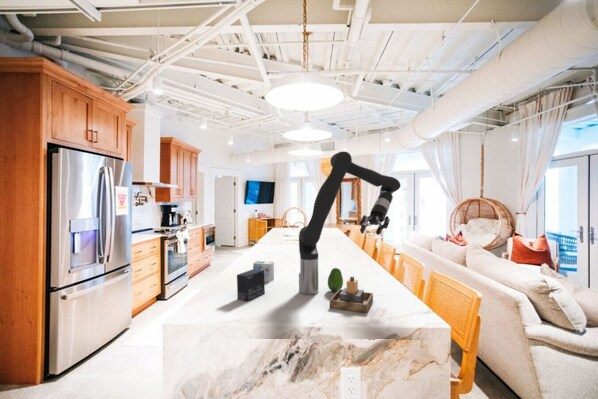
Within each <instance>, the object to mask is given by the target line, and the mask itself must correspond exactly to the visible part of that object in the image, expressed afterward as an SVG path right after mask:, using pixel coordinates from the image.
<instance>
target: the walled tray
mask: <svg viewBox="0 0 598 399" xmlns="http://www.w3.org/2000/svg"><path fill="white" fill-rule="evenodd" d="M373 302H374V293H373V292H365V289H358V293H357V294H350V293H347V287H344V288H343V289H342V288H341V289H339V290H338V291H336V292H335V293H334V295H333V296H332V297H331V298H330V299H329V308H330V309H334V308H335V309H336V310H340V309H341V310H342V311H347V310H348V312H355V313H361V314H368V311H369V309H370V307H371V305H372V304H373ZM335 309H334V310H335ZM341 310H340V311H341Z"/></svg>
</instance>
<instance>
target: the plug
mask: <svg viewBox="0 0 598 399" xmlns="http://www.w3.org/2000/svg"><path fill="white" fill-rule="evenodd" d="M358 285H359V283H358V279H355V276H349V278H348V280H346V288H347V293H350V294H357V293H358V288H359V286H358Z"/></svg>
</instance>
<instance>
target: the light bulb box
mask: <svg viewBox="0 0 598 399" xmlns="http://www.w3.org/2000/svg"><path fill="white" fill-rule="evenodd" d="M252 265H253V266H252V267H253V268H252V269H258V270H264V283H268V284H269V283H271V282H273V281H274V280H275V261H271V260H269V261H267V260H257V261H254V262H253V263H252Z"/></svg>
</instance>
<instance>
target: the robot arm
mask: <svg viewBox="0 0 598 399" xmlns="http://www.w3.org/2000/svg"><path fill="white" fill-rule="evenodd" d="M329 164H330V166H331V170H330V172H329V175H328V177H327V178H326V179H325V181H324V182H323V183H322V185H321V186H320V188H319V190H318V192H317V194H316V197H315V200H314V203H313V207H312V208H313V209H312V214H311V217H310V219H309V222H308V224H307V226H304V227H302V228H300V231H299V233H298V249H299V250H298V251H299V262H300V263H299V265H300V268H299V269H300V271H299V273H298V292H299V293H301V294H304V295H315V294H317V293H319V252H318V248H317V243H318V242H319V241H320V239H321V235H322V232H323V228H324V225H325V223H326V220H327V218H328V215H329V213H330V211H331V209H332V207H333V204H334V203H335V200H336V197H337V196H338V193H339V191H340V188H341V185H342V182H343V180H344V177H345V176H346V175H347V174H348V175H351V176H354V177H357V178H359V179H360V180H362V181H364V182H366V183H368V184H370V185H372V186H375V187H378V188H379V187H380V189H379V195H378V197H377V199H376V200H375V202H374V204H373V206H372V208H371V211H370V213H369V215H368V216H366V215H363V216H362V218H361V220H360V221H359V225H360V229H359V231H360V233H361V234H363V235H364V233H365V231H366V228H368V227H370V226H374V225H375V226H377V229H376V231H375V233H376V235H377V236H379V235H381V234H382V231H383V229H385V230H386V229H388V227H389V224H390V221H391V219H390V217H389V216H388V215H387V214H388V212H389V209H390V206H391V203H392V201H393V198H394V196H393V193H396V192H397V191H398V190H399V189H401V182H400V181H399V180H398V178H396V177H393V176H389V175H387V174H386V175H384V174H381V173H379V172H378V171H376V170H373V169H372V168H368V167H366V166H365V167H364V166H361V165H359V164H357V163H355V162H353V161H352V155H351V154H350V152H348V151H343V150H342V151H339V152H337V153H335V154H333V155H332V156H331V157H330V163H329Z"/></svg>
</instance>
